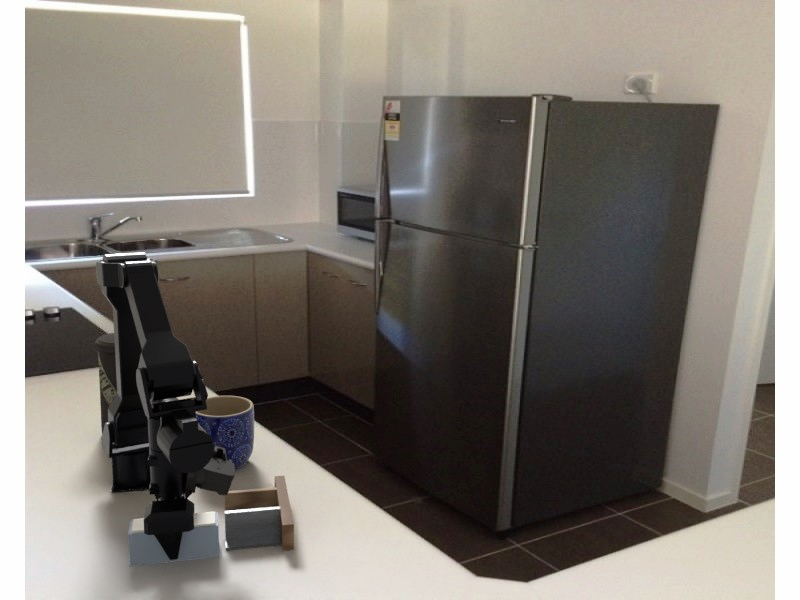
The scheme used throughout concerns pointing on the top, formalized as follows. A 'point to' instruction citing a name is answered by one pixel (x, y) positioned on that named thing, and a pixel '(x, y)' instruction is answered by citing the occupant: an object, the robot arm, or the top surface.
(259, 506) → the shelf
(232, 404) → the planter
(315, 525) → the top surface
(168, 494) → the robot arm
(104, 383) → the container
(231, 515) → the bookend
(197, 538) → the book
